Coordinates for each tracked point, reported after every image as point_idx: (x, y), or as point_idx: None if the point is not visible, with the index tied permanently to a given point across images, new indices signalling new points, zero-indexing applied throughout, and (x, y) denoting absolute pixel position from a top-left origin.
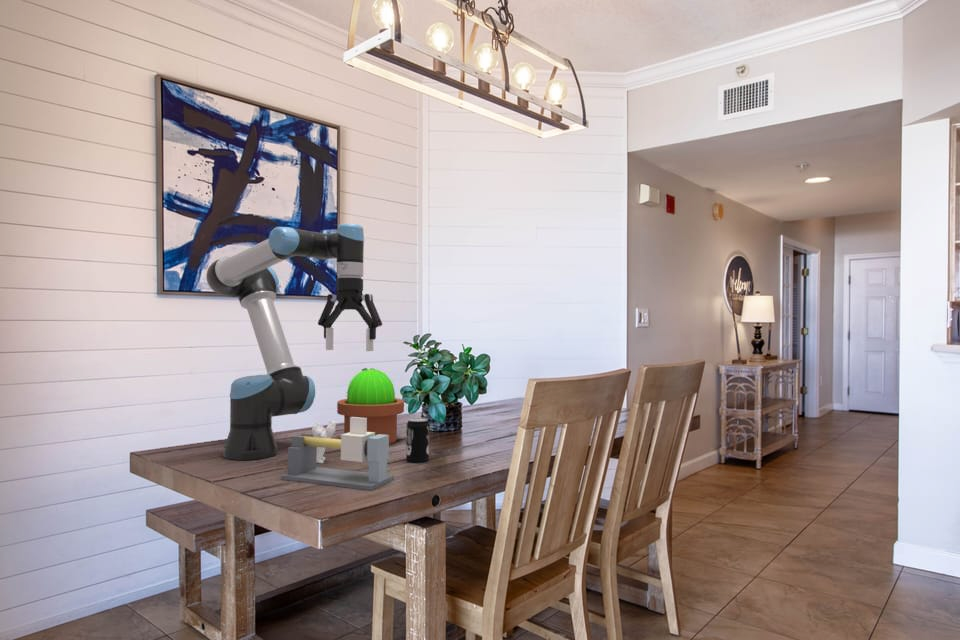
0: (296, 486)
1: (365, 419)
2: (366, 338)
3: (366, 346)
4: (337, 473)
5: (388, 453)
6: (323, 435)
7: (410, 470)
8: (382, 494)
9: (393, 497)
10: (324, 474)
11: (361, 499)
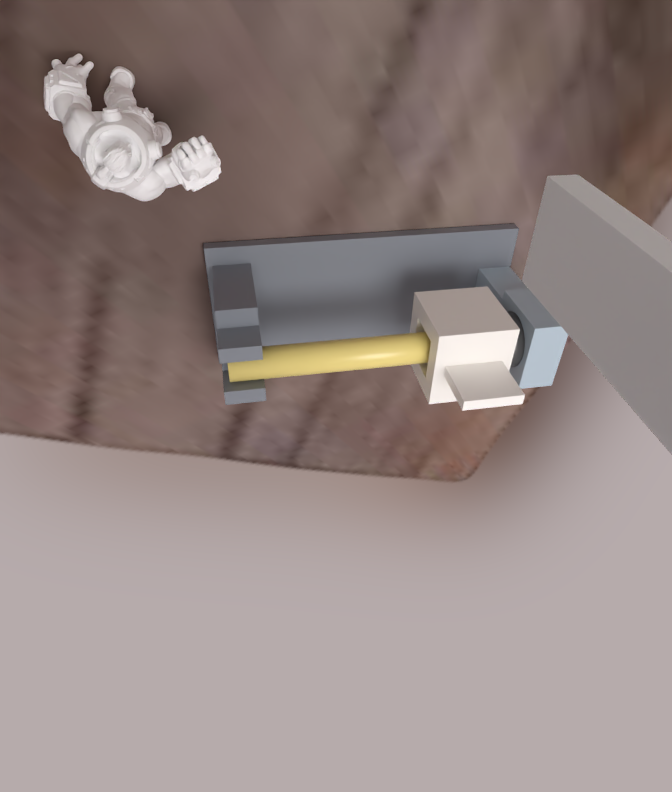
0: (300, 381)
1: (520, 399)
2: (597, 362)
3: (550, 309)
4: (349, 281)
5: None
6: (177, 184)
7: (536, 90)
8: None
9: None
10: (320, 305)
11: None
